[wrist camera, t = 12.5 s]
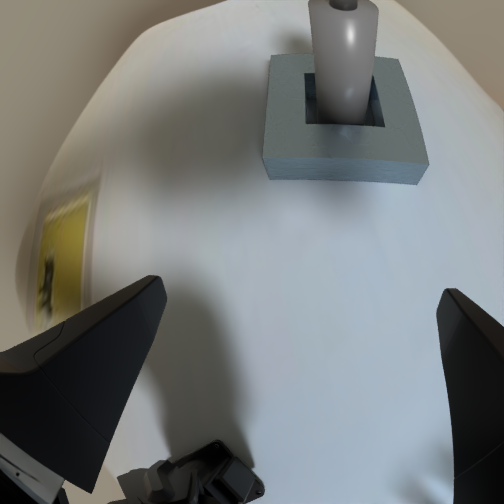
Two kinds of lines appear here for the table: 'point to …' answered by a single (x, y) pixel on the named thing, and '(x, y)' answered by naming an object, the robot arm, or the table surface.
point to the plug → (343, 58)
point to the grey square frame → (341, 129)
